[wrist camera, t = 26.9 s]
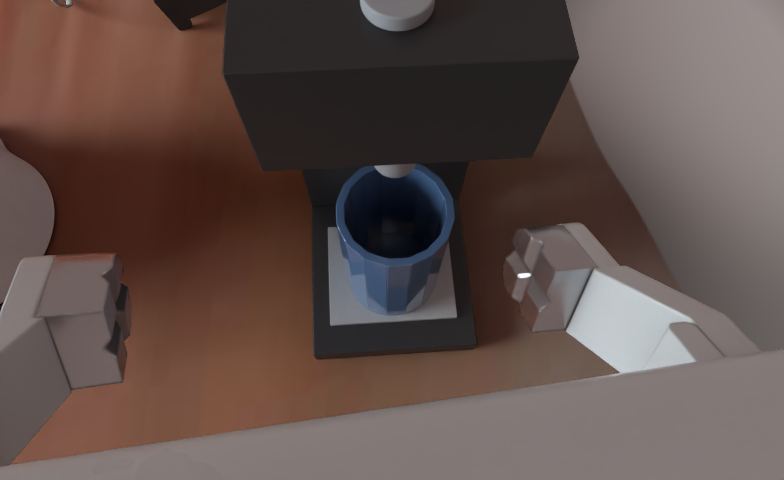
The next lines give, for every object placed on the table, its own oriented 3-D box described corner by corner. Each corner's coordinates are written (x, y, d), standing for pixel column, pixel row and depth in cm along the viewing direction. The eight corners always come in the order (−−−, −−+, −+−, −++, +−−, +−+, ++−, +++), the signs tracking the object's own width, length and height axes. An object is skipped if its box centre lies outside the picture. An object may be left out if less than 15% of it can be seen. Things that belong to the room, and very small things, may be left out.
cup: (348, 319, 38) (337, 269, 28) (345, 233, 40) (334, 162, 31) (441, 313, 38) (460, 262, 29) (432, 228, 40) (447, 156, 31)
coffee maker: (315, 359, 38) (207, 181, 15) (312, 158, 44) (232, -196, 21) (473, 349, 39) (616, 159, 15) (449, 152, 45) (523, -204, 21)
